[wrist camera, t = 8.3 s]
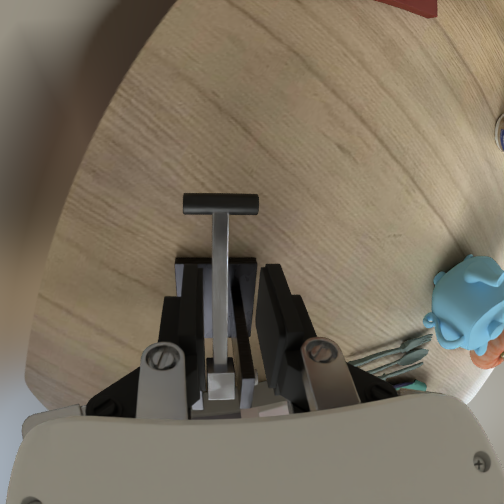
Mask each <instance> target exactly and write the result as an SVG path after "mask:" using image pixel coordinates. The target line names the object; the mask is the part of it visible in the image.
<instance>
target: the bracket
mask: <svg viewBox="0 0 504 504" xmlns="http://www.w3.org/2000/svg"><path fill="white" fill-rule="evenodd" d="M184 264H198V268H203V302H204V338H213V332H212V258H176V259H175V277H176V290H177V297H181V289H182V278H183V268H184ZM256 272H257V261H256V258H228V335H227V338H232V347H233V356H234V365H235V374H236V382H237V390H238V399H239V407H240V409H249V408H252V401H253V393H254V386H255V385H257V384H258V373H257V370H256V369H254V366H253V360H252V354H251V349H250V343H249V337H250V336H251V325H252V315H253V304H254V294H255V283H256ZM192 410H204V399H203V391H200V400H198V401H197V402H196V403H195V404H194V405H192Z"/></svg>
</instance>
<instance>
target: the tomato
mask: <svg viewBox="0 0 504 504" xmlns="http://www.w3.org/2000/svg"><path fill="white" fill-rule="evenodd" d="M470 357H471V360H472V362H473V363H474V364H475V365H476V366H477V367H479V368H481V369H490V368H494V367H496V366H497V365H499V364H500V363H501V362H503V361H504V329H503V331H502V333H501V334H500V335H499V336H498V337H497V338H495V339H493V340H490V341H488V345H487V350H486V352H485V353H484V354H483V355H482V356H478V355H477V354H476V353H475V351H474V350H470Z"/></svg>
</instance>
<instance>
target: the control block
mask: <svg viewBox="0 0 504 504" xmlns="http://www.w3.org/2000/svg"><path fill="white" fill-rule="evenodd" d="M375 1H378V2H382V3H385V4H388V5H392V6H395V7H398V8H401V9H404V10H407V11H409V12H412V13H415V14H418V15H420V16H423V17H426V18H434V17H437V0H375Z"/></svg>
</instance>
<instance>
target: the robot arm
mask: <svg viewBox="0 0 504 504" xmlns="http://www.w3.org/2000/svg"><path fill="white" fill-rule="evenodd" d="M256 329H257V334H258V339H259V344H260V349H261V354H262V359H263V364H264V369H265V374H266V379H267V384H268V388H273V390H274V395H275V396H278V395H281V396H282V397H284V398H285V399H287V406H288V411H289V414H288V415H279V416H268V417H255V418H239V419H213V420H192V410H191V406H192V405H194V404H195V403H196V402H197V401H198V400H200V391H206V380H205V346H204V302H203V268H198V264H184V268H183V278H182V289H181V297H170V296H165V298H164V303H163V310H162V317H161V324H160V331H159V339H158V342H157V343H154V344H151V345H150V346H148V347H147V348H146V349H145V350H144V351H143V353H142V356H141V364H140V367H138V368H137V369H135V370H134V371H132V372H131V373H129V374H128V375H126V376H125V377H123V378H121V379H120V380H118V381H117V382H115V383H114V384H112V385H111V386H109V387H108V388H106V389H104V390H103V391H101V392H100V393H98V394H97V395H95V396H94V397H93V398H91V399H90V400H89V402H88V403H87V405H84V406H80V405H79V404H76V405H72V406H68V407H63V408H59V409H55V410H51V411H46V412H41V413H37V414H33V415H31V416H29V417H28V418H27V419H26V420H25V421H24V423H23V425H22V436H23V441H22V443H21V445H20V447H19V450H18V453H17V455H16V459H15V462H14V465H13V469H12V473H11V477H10V482H9V487H8V492H7V500H6V504H504V469H503V467H502V465H501V463H500V461H499V459H498V456H497V454H496V452H495V450H494V448H493V446H492V444H491V442H490V440H489V439H488V437H487V435H486V433H485V431H484V430H483V428H482V426H481V425H480V423H479V422H478V420H477V418H476V417H475V416H474V414H473V413H472V411H471V410H470V409H469V407H467V405H466V404H465V403H464V402H462V401H461V400H460V399H458V398H456V397H453V396H450V395H445V394H442V393H436V392H428V391H421V390H414V389H407V388H400V389H399V390H396V389H395V388H394V387H393V386H392V385H391V384H390V383H388V382H386V381H384V380H382V379H380V378H378V377H376V376H374V375H372V374H370V373H368V372H366V371H364V370H362V369H360V368H358V367H356V366H354V365H351V364H349V363H347V362H346V361H345V359H344V356H343V353H342V351H341V349H340V347H339V346H338V345H337V344H336V343H335V342H334V341H332V340H330V339H328V338H324V337H317V335H316V333H315V330H314V327H313V325H312V322H311V320H310V317H309V315H308V312H307V310H306V307H305V305H304V302H303V300H302V297H301V296H300V295H291V292H290V289H289V287H288V284H287V281H286V278H285V276H284V273H283V270H282V268H281V265H280V264H266V266H265V267H261V270H260V279H259V289H258V299H257V309H256Z"/></svg>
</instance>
